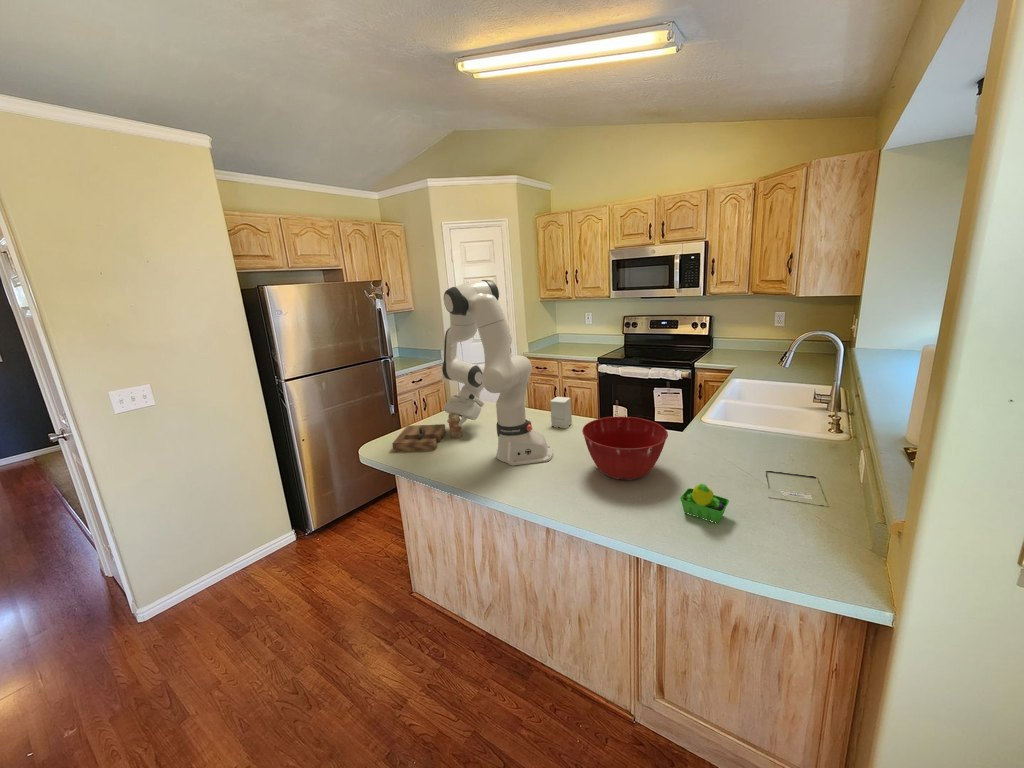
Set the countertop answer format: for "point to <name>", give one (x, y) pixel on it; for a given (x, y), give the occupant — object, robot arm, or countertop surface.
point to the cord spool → (454, 425)
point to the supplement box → (561, 412)
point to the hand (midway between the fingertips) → (453, 424)
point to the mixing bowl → (624, 445)
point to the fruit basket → (703, 503)
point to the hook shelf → (419, 444)
